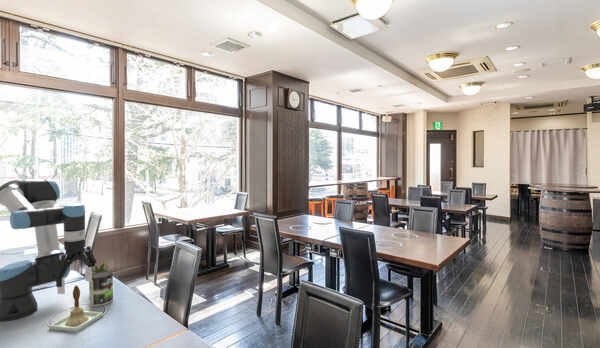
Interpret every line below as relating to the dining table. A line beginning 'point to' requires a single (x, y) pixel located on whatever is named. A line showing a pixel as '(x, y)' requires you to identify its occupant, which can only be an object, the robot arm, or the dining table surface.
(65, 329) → the tray
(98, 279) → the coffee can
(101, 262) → the house plant
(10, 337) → the dining table surface
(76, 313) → the hand bell
